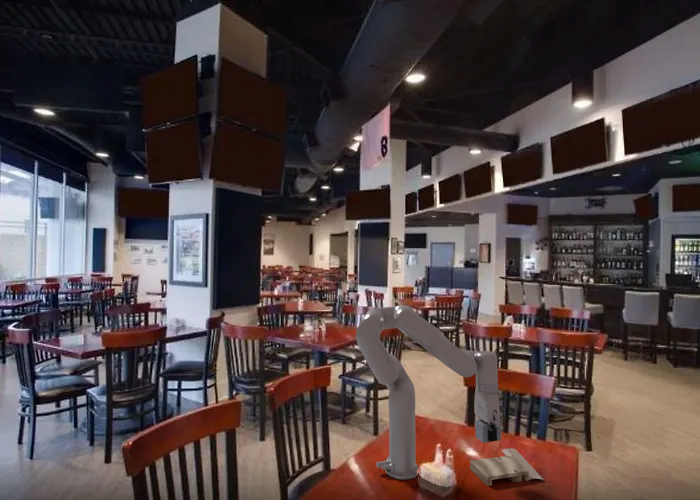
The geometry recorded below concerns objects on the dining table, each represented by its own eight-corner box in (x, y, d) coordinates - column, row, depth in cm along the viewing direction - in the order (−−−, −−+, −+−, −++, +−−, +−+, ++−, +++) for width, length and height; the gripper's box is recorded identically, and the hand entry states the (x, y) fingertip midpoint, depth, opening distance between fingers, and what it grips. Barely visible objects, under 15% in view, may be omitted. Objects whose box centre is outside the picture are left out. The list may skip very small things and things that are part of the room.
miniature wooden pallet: (487, 486, 153) (487, 476, 153) (470, 469, 164) (470, 460, 164) (528, 480, 156) (528, 470, 156) (508, 464, 168) (508, 455, 168)
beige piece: (544, 483, 156) (544, 478, 156) (524, 483, 155) (524, 478, 155) (516, 452, 179) (516, 448, 179) (499, 452, 179) (499, 448, 179)
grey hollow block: (483, 442, 156) (482, 425, 156) (475, 437, 161) (475, 419, 161) (501, 440, 158) (500, 422, 158) (493, 434, 162) (492, 417, 162)
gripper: (465, 381, 167) (467, 430, 167) (490, 395, 150) (491, 449, 150) (483, 379, 168) (485, 427, 168) (510, 393, 152) (511, 446, 152)
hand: (488, 437), depth 159 cm, fingers closed on grey hollow block, 5 cm apart
